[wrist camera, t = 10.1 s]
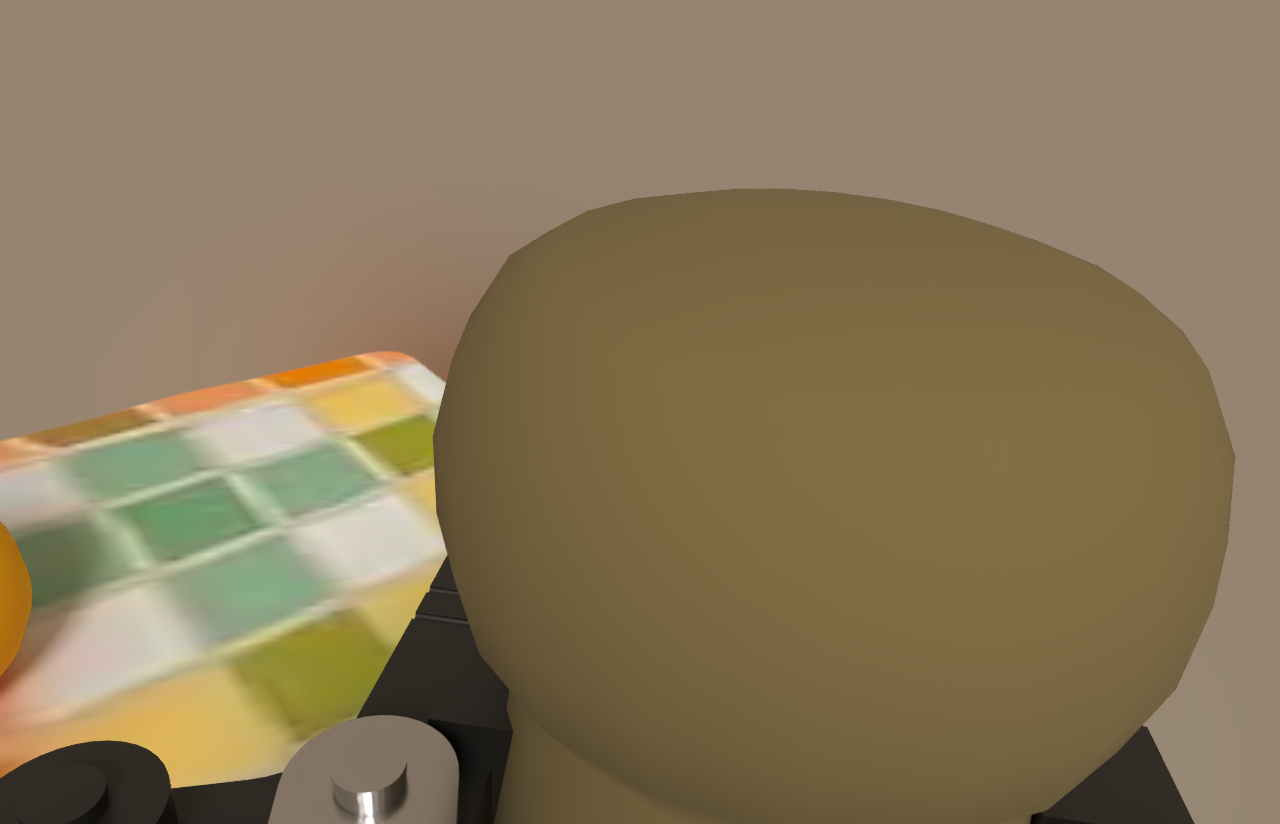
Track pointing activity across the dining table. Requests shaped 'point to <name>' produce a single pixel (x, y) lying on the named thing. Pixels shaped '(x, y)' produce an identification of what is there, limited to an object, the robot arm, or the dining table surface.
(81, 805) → the robot arm
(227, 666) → the dining table surface
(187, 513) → the dining table surface
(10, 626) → the orange
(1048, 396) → the cork
